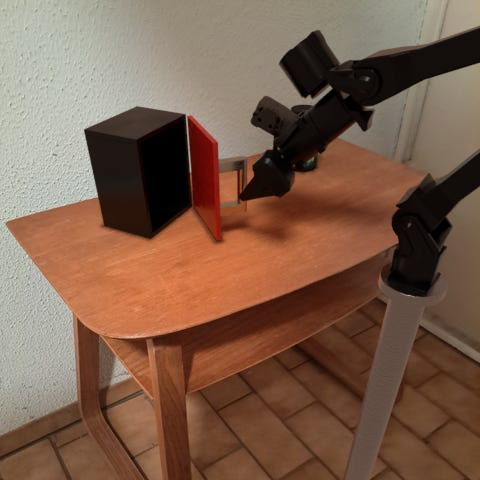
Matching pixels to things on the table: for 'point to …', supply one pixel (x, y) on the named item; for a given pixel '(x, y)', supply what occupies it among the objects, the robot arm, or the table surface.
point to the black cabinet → (141, 169)
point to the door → (212, 178)
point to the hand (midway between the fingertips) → (248, 187)
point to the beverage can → (313, 161)
